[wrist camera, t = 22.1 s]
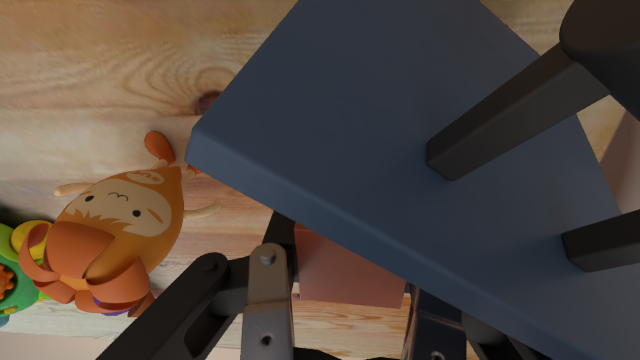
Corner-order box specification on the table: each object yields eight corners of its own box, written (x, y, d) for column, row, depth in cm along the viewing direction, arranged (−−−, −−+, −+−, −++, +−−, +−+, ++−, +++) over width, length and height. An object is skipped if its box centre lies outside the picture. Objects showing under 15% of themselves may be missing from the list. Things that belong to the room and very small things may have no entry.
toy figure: (244, 152, 29) (159, 286, 17) (231, 208, 34) (158, 344, 22) (121, 109, 28) (-62, 220, 16) (126, 173, 33) (-13, 296, 21)
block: (404, 168, 13) (418, 238, 9) (392, 235, 15) (400, 309, 12) (310, 163, 13) (293, 229, 10) (313, 229, 15) (300, 299, 12)
